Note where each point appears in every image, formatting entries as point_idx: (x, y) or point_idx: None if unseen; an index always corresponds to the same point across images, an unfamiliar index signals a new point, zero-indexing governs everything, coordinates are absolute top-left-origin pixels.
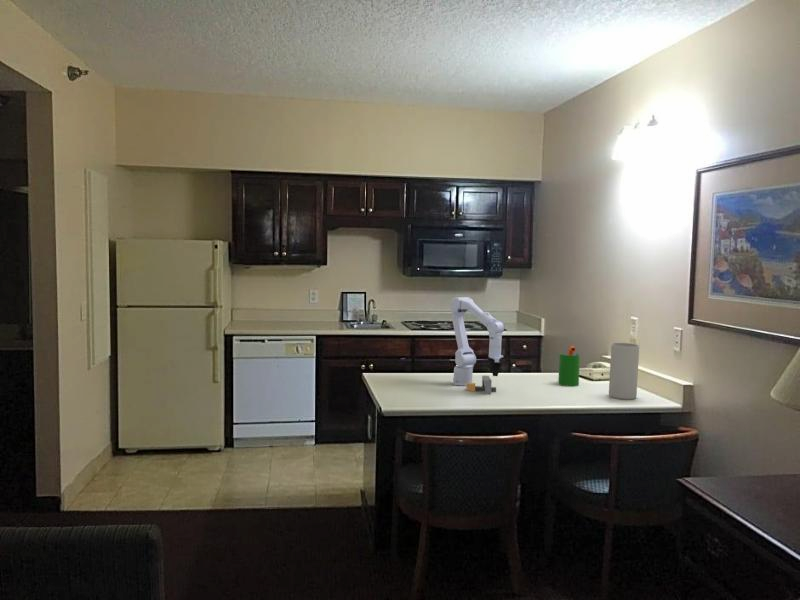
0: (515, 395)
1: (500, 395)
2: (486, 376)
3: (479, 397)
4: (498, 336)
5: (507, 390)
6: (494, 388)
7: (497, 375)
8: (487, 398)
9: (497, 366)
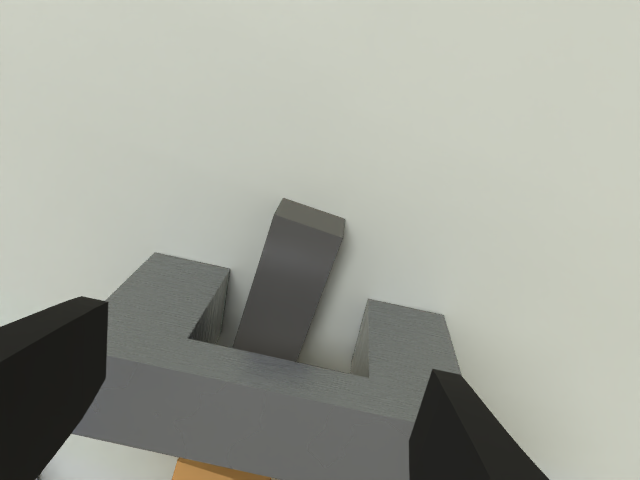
0: (591, 7)
1: (533, 228)
2: (133, 397)
3: (563, 473)
4: None
5: (254, 13)
6: (334, 256)
7: (467, 386)
8: (633, 419)
9: None
